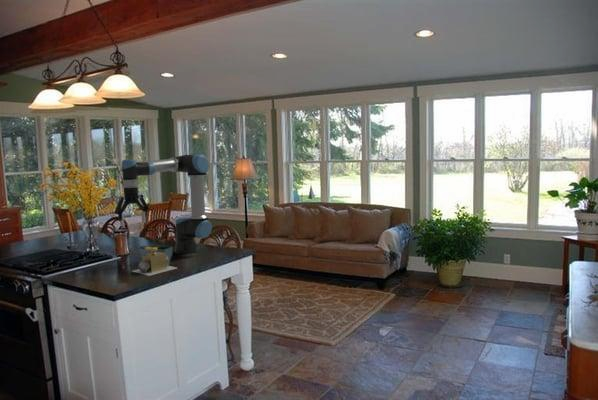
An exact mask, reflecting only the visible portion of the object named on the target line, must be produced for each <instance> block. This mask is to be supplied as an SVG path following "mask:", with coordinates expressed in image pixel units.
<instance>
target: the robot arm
mask: <svg viewBox="0 0 598 400" xmlns="http://www.w3.org/2000/svg"><path fill="white" fill-rule="evenodd" d="M120 169H121V173H122V187H123V194H124V196H119V197H118V202H117V205H116V208H115V211H114V214H116V215H117V216H118V217H117V218H118V221H119V224H120V227H125V217H124V214H123V213H124V212H125V210H126V208H127V207H128V205H132V204H135V205H137V207H138V208H140V210H141V212H140V213H141V223H143V224H145V223H147V221H146V219H147V218H146V217H147V212H148V211H149V210H150V208H149V205H148V203H147V202H146V200H145V198H144V195H143V194H139V191H138V190H139V189H138V188H139V187H138V177H139V176H140V177H141V176H142V177H143V176H153V175H154V174H155V173H163V172H164V173H165V172H172V173H177V172H178V173H187V177H188V178H189V180H190V181H189V183H190V184H189V185H190V186H189V187H190V206H191V214H190V216H187V217H186V216H185V217H181V218H176V219H175V235H176V243H175V246H174V247H175V248H174V253H175V254H179V255H185V254H192V253H193V254H194V253H196V252H198V251H199V247H198V245H197V242H196V240H195V239H205V238H208V237H209V235H210V234H211V232H212V229H213V228H212V227H213V226H212V223H211V222H210V221H209V220H208V217H209V216H207V215H206V207H205V206H206V203H205V202H206V199H205V180H204V179H205V177H206V175H207V172H208V170H209V169H210V161H209V159H208V158H207V157H206V156H205V155H204V154H198V153H195V154H183V155H179V156H172V157H170V158H168V159H167V158H166V159H165V158H164V159H157V160H145V161H136V159H123V160H122V161H121V168H120Z"/></svg>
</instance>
